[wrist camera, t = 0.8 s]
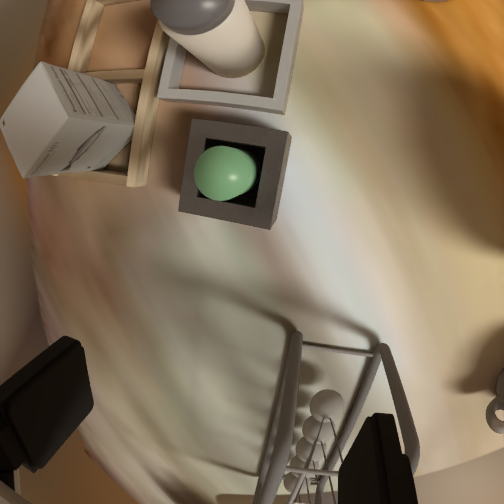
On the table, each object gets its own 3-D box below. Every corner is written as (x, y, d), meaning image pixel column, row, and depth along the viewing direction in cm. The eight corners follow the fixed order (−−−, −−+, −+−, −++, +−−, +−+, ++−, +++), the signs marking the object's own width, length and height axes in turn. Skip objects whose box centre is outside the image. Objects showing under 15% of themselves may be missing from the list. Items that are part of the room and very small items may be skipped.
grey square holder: (209, 124, 30) (192, 118, 25) (291, 137, 29) (288, 131, 24) (197, 203, 32) (178, 211, 27) (276, 219, 31) (269, 229, 26)
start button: (220, 146, 28) (198, 142, 22) (263, 153, 28) (252, 150, 22) (213, 189, 29) (190, 195, 24) (256, 197, 29) (242, 205, 23)
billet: (211, 24, 27) (158, -37, 14) (269, 28, 26) (242, -42, 14) (200, 75, 29) (135, 32, 16) (258, 81, 28) (223, 30, 15)
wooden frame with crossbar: (100, 0, 27) (89, -6, 25) (186, -11, 26) (177, -21, 23) (65, 173, 34) (52, 175, 32) (146, 185, 32) (134, 187, 30)
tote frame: (190, 2, 26) (182, -7, 24) (303, 8, 25) (302, -3, 22) (167, 101, 30) (156, 97, 27) (284, 115, 28) (282, 110, 26)
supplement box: (103, 171, 33) (20, 182, 21) (75, 125, 32) (-5, 121, 20) (148, 128, 31) (69, 118, 19) (116, 81, 30) (38, 58, 18)
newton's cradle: (322, 486, 41) (314, 578, 24) (258, 478, 42) (235, 569, 25) (387, 335, 32) (427, 461, 15) (293, 322, 34) (273, 452, 17)
